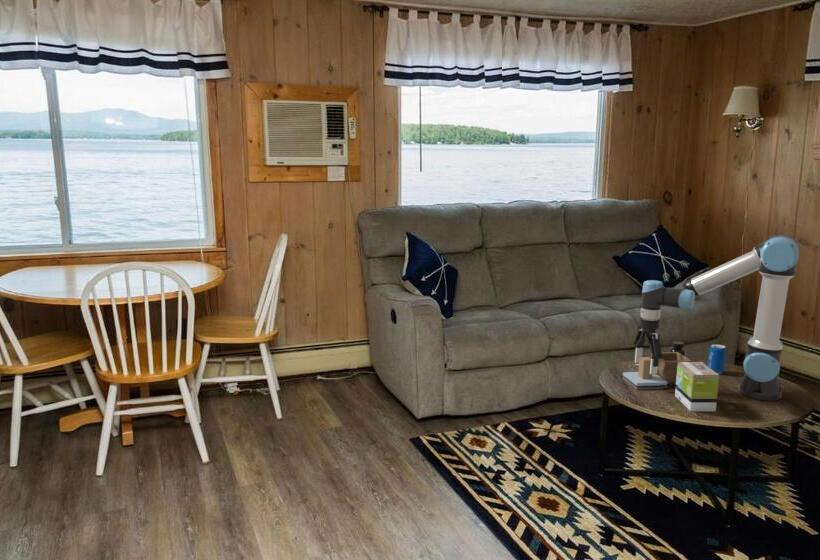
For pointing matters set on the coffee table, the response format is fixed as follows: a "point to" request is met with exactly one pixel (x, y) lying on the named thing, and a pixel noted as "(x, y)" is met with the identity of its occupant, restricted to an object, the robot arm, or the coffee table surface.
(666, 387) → the mat
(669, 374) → the box
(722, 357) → the beverage can
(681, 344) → the supplement bottle
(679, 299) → the robot arm
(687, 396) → the tea box
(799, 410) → the coffee table surface
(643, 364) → the lid
